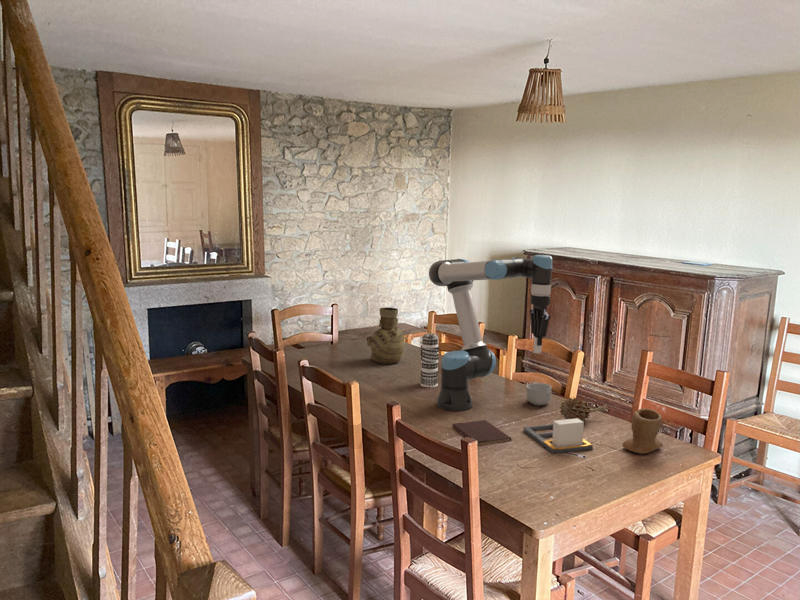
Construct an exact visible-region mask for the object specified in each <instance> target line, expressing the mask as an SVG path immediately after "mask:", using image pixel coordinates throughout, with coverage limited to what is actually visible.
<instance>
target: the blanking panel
mask: <svg viewBox="0 0 800 600" xmlns="http://www.w3.org/2000/svg"><path fill="white" fill-rule="evenodd" d="M552 423H553V429H552V432H553V437H551V440H552V445H554V446H555V447H556V448H561V447H570V446H578V445H582V443H583V439H584V428H585V427H584V424H585V422H584V420H583V421H581V420H580V419H578V418H576V419H569V418H567V419H566V418H565V419H558V420H553V422H552Z"/></svg>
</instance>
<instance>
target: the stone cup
mask: <svg viewBox="0 0 800 600" xmlns="http://www.w3.org/2000/svg"><path fill="white" fill-rule="evenodd" d="M662 424H663V418H662V415H661V414H660V413H659V412H658V411H657V410H655V409H651V408H640V409H637V410H636V411H635V412H634V414H633V415H632V419H631V431H632V438H630V439H627V440H625V441H623V442H622V444H621V445H622V447H623V448H624V449H626V450H628V451H629V452H632V453H635V454H639V455H643V454H647V453H650V452H653V451H655V450H658V449H660V448H662V447H663V446H664V444H663V443H662V442H661V441H660V440H659V439H658V438H657V436H658V433H659V432H660V431H661V428H662Z"/></svg>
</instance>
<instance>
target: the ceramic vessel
mask: <svg viewBox="0 0 800 600" xmlns="http://www.w3.org/2000/svg"><path fill="white" fill-rule="evenodd" d="M398 312H399V309H398V308H395V307H389V306H388V307H386V306H385V307H380V308H379V315H380V319H379V324H378V327H380V328H378V329H377V330H376V331H374V332H373V334H372V335H371V336H367V337H366V343H367V344H366V345H367V347H369V348H370V351H371V354H370V360H371V361H372V362H375V363H377V364H380V363H381V365H395V364H397V363H399V362H400V360H401V359H402V357H403V355H404V354H403V353H404V351H405V335H404V331H403V330H402V329H400V328H399V327H398V326H397V324H398V322H399V320H398V314H399V313H398Z"/></svg>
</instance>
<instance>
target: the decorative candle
mask: <svg viewBox="0 0 800 600" xmlns="http://www.w3.org/2000/svg"><path fill="white" fill-rule="evenodd" d="M421 339H422V342H421V345H420V356H421V357H420V362H421V369H420V386H421V387H423V388H429V387H430V388H436V387H438V386H439V384H438V383H439V381H438V380H439V371H438V369H439V367H438V364H439V359H440V358H439V356H440V354H439V352H440V350H439V349H440V346H439V337H438V335H436V334H435V333H433V332H432V333H429V332H428V333H424V334H423V335H422V336H421Z"/></svg>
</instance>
